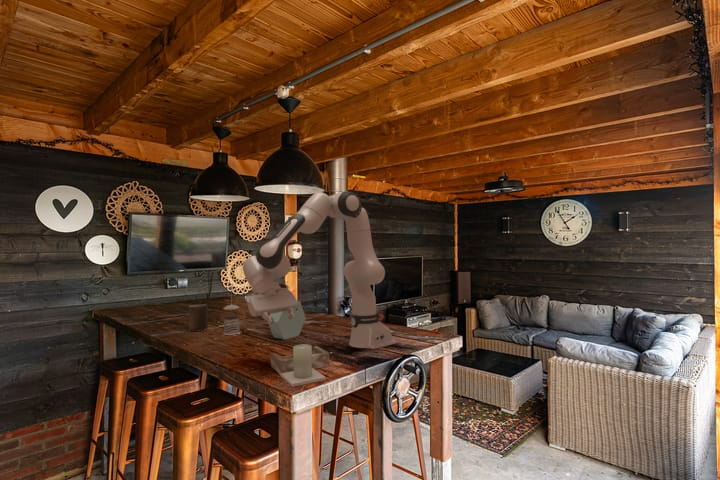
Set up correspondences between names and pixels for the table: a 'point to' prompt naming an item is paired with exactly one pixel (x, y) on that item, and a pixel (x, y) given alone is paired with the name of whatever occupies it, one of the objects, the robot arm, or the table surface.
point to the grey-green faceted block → (287, 323)
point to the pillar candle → (198, 317)
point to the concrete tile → (301, 381)
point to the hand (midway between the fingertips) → (282, 320)
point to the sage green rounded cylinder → (302, 360)
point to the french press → (228, 320)
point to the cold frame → (286, 364)
